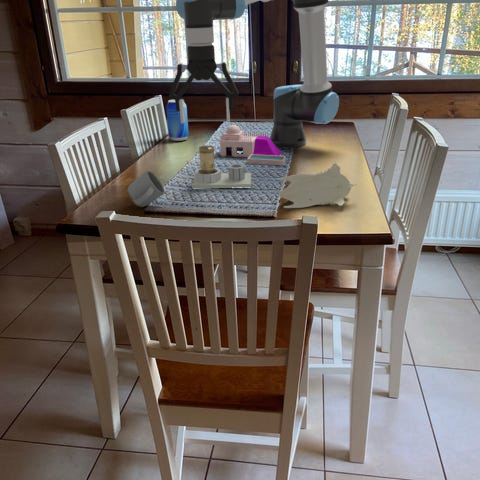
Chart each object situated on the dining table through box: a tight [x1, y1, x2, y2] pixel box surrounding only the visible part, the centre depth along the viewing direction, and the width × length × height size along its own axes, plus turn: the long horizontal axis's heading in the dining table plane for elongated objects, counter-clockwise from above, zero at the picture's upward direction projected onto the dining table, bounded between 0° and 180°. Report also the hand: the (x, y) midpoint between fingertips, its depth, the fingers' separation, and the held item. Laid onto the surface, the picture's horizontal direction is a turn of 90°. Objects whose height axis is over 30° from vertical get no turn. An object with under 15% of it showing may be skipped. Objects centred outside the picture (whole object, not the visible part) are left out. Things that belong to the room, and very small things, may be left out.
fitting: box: [198, 145, 216, 174], centre depth 143 cm, size 4×4×10 cm
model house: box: [219, 124, 287, 166], centre depth 170 cm, size 25×17×11 cm
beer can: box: [165, 99, 190, 142], centre depth 196 cm, size 8×8×16 cm
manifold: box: [191, 163, 252, 189], centre depth 145 cm, size 18×11×6 cm, turn 89°
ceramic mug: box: [126, 170, 166, 208], centre depth 127 cm, size 11×8×8 cm
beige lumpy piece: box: [278, 162, 358, 209], centre depth 129 cm, size 22×12×12 cm, turn 94°
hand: (205, 121), depth 138 cm, fingers open, 13 cm apart
